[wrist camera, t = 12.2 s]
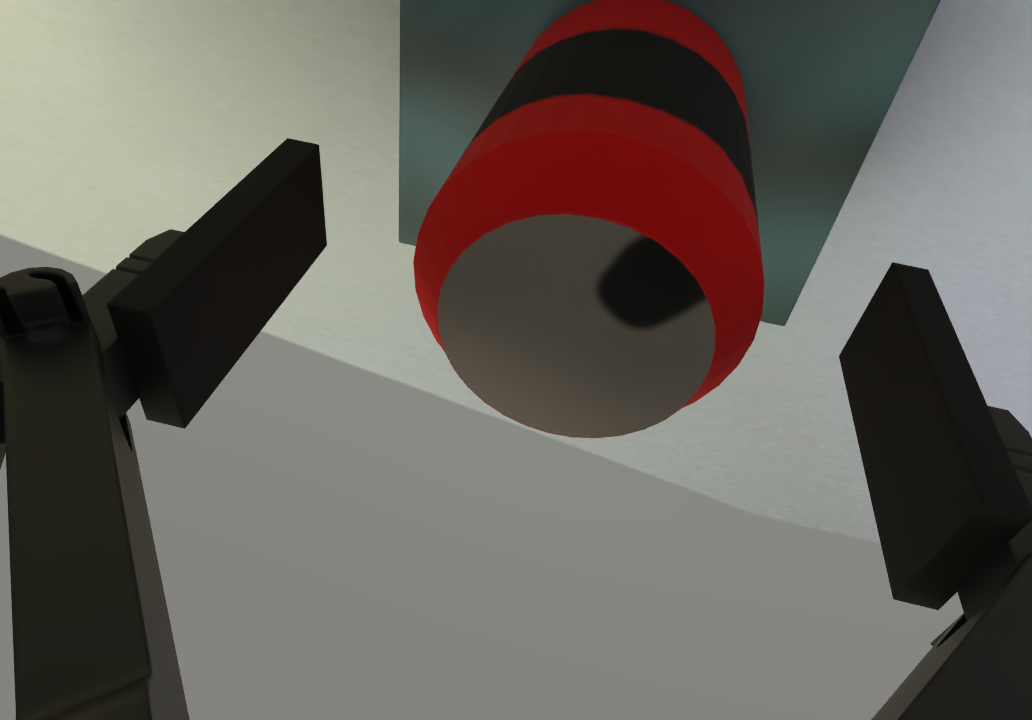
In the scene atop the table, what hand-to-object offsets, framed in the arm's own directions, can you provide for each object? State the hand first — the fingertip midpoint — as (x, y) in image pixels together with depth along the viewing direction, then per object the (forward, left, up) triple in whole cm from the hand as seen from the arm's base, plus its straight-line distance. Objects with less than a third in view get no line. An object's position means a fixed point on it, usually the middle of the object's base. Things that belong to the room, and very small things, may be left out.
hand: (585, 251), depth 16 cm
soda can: (0, 0, -9) cm, 9 cm away
